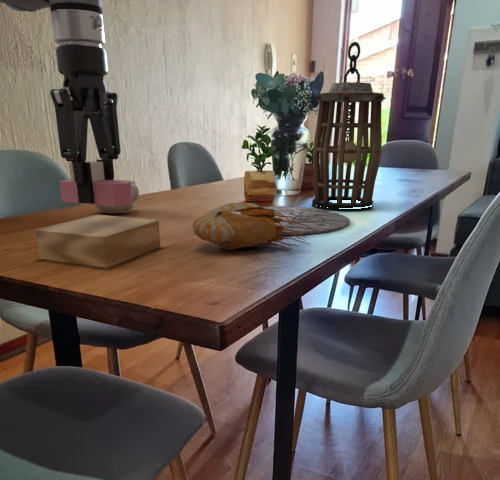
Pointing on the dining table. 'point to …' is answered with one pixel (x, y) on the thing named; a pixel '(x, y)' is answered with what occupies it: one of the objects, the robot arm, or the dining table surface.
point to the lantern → (347, 143)
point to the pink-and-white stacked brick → (98, 188)
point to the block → (98, 240)
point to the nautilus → (242, 226)
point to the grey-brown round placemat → (309, 220)
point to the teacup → (121, 207)
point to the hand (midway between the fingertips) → (97, 200)
